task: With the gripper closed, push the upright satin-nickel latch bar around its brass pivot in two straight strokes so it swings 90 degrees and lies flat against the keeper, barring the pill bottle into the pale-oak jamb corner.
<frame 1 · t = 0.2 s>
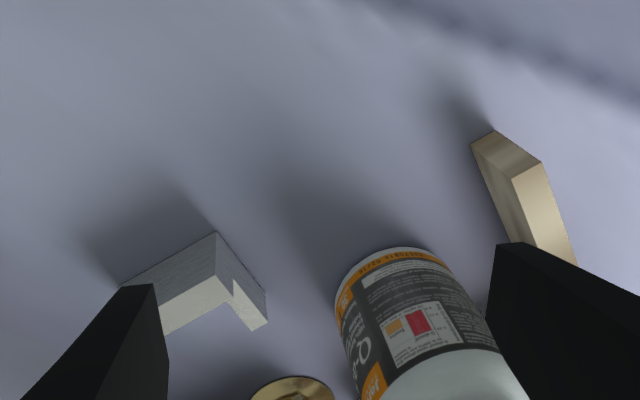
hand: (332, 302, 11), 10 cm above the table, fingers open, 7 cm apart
pill bottle: (391, 291, 24), on the table
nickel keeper: (178, 272, 22), on the table
oak jamb corner: (392, 294, 24), on the table
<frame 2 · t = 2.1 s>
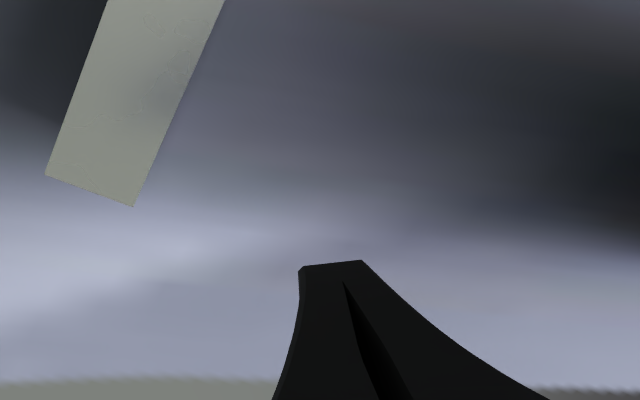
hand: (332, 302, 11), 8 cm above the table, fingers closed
latch bar: (167, 8, 14), point 2 cm above the table, hinge at 90.0°
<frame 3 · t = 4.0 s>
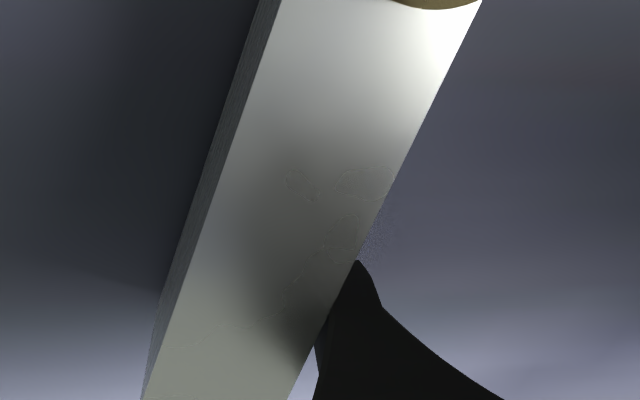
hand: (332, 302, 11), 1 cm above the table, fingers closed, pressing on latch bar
latch bar: (302, 136, 8), point 2 cm above the table, hinge at 88.7°, touching gripper
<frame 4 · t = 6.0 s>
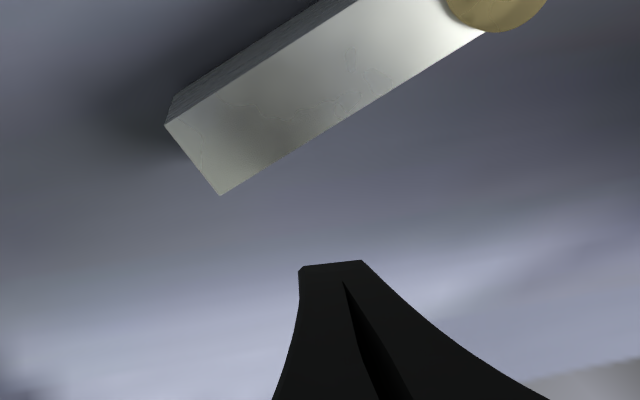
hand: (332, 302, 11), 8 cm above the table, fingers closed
latch bar: (352, 45, 14), point 2 cm above the table, hinge at 41.3°
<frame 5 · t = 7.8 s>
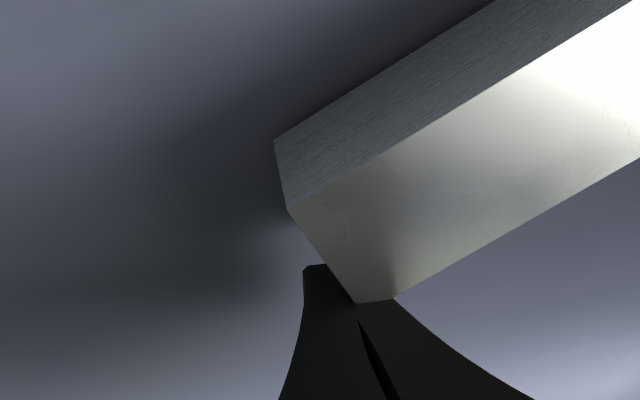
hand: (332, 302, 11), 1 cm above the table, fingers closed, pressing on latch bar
latch bar: (579, 67, 9), point 2 cm above the table, hinge at 39.1°, touching gripper
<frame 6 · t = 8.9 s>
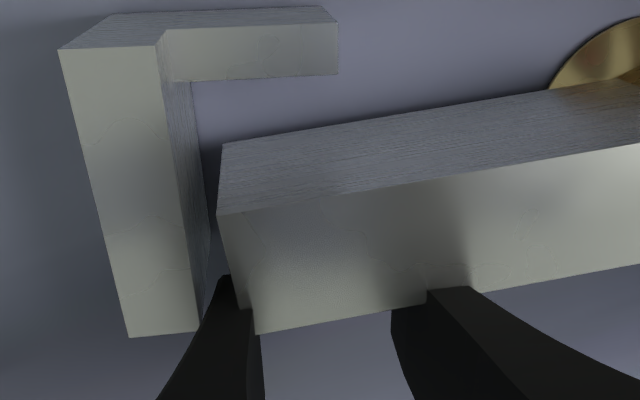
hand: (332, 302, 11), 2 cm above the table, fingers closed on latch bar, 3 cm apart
latch bar: (508, 189, 10), point 2 cm above the table, hinge at 6.1°, touching gripper
pivot plate: (628, 120, 12), on the table
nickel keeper: (177, 135, 11), on the table
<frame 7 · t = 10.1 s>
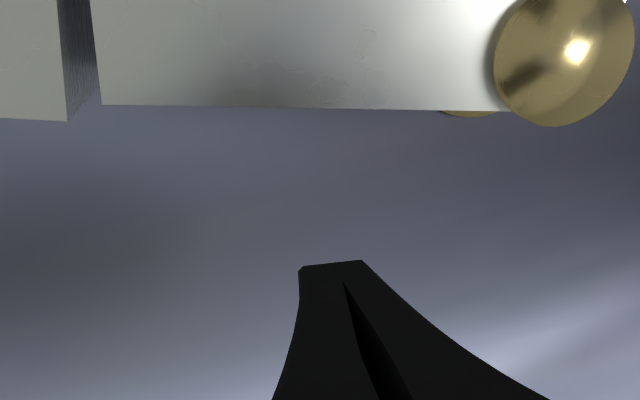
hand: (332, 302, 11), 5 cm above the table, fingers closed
latch bar: (363, 37, 11), point 2 cm above the table, hinge at 3.0°
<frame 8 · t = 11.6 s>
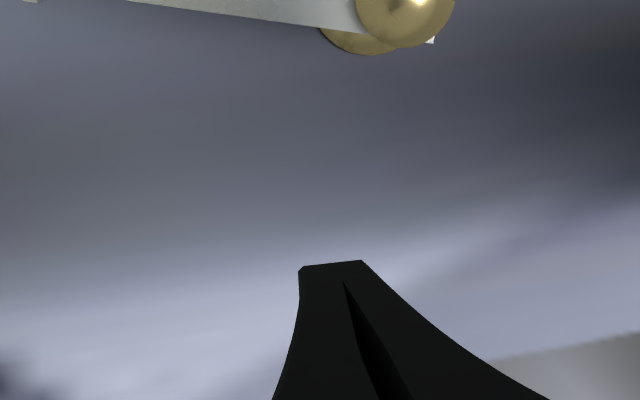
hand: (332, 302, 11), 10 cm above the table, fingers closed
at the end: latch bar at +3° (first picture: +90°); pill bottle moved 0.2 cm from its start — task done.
